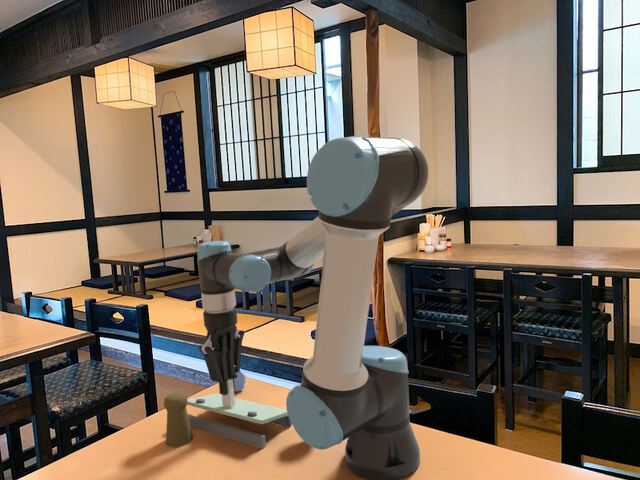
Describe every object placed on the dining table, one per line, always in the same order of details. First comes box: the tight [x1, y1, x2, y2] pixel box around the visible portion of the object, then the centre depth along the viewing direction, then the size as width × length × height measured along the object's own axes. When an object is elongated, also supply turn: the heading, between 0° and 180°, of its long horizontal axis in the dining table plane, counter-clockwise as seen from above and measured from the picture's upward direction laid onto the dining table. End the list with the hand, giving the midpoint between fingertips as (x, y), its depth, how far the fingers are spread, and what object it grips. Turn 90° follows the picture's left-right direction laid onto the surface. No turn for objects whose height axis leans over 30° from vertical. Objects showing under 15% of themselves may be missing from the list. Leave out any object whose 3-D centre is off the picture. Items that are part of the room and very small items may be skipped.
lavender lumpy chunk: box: [234, 368, 247, 393], centre depth 140 cm, size 8×7×7 cm
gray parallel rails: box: [187, 413, 293, 449], centre depth 119 cm, size 24×11×2 cm, turn 59°
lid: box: [187, 392, 288, 425], centre depth 119 cm, size 24×11×1 cm, turn 59°
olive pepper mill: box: [163, 391, 194, 448], centre depth 113 cm, size 6×6×11 cm
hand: (228, 405), depth 117 cm, fingers closed
